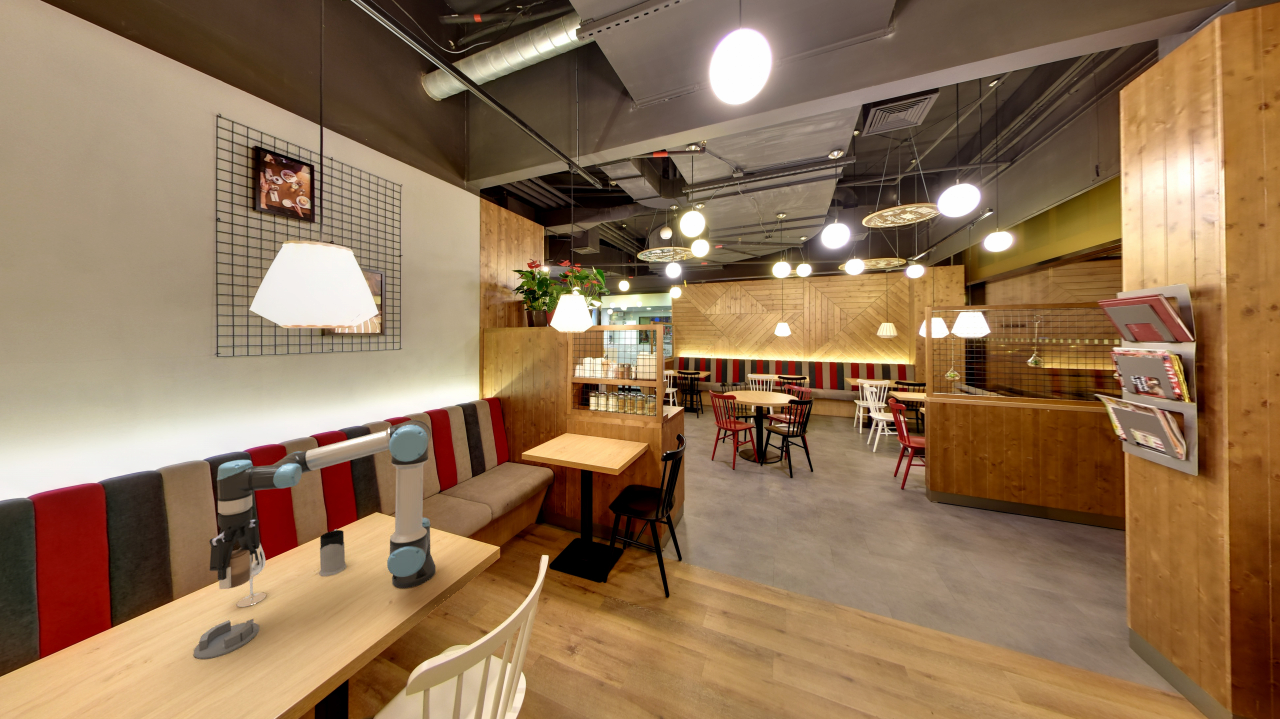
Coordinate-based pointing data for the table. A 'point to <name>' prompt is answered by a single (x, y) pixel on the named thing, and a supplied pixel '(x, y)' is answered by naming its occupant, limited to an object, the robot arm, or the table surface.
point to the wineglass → (256, 569)
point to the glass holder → (332, 553)
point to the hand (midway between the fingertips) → (236, 581)
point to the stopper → (239, 567)
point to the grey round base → (225, 639)
